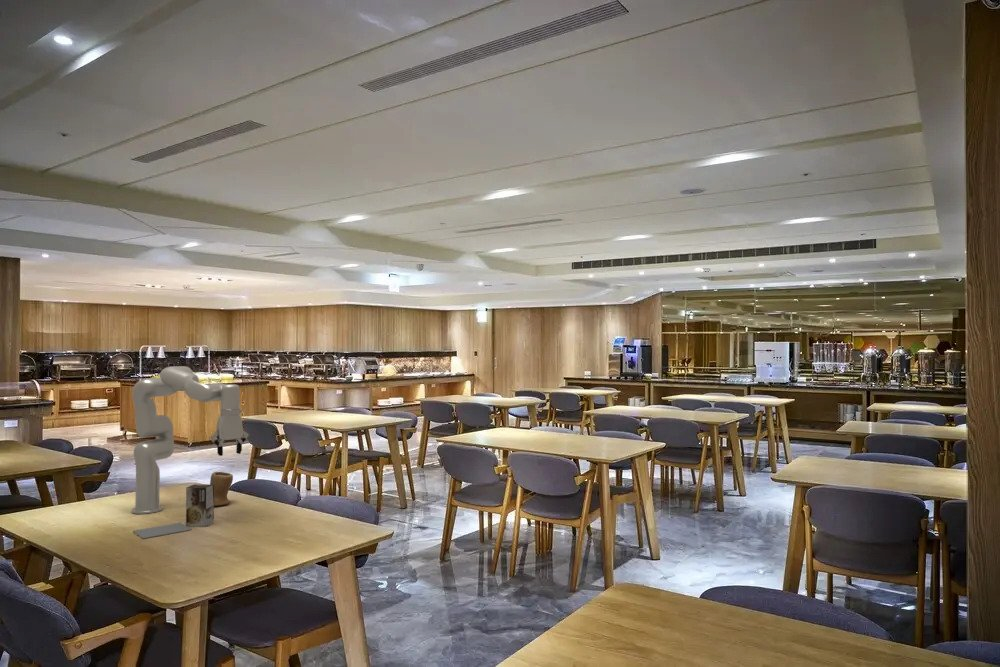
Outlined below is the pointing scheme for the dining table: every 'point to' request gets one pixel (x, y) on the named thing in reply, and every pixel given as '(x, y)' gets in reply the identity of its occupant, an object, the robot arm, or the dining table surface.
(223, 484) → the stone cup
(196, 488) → the coffee box
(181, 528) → the mat
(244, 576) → the dining table surface
